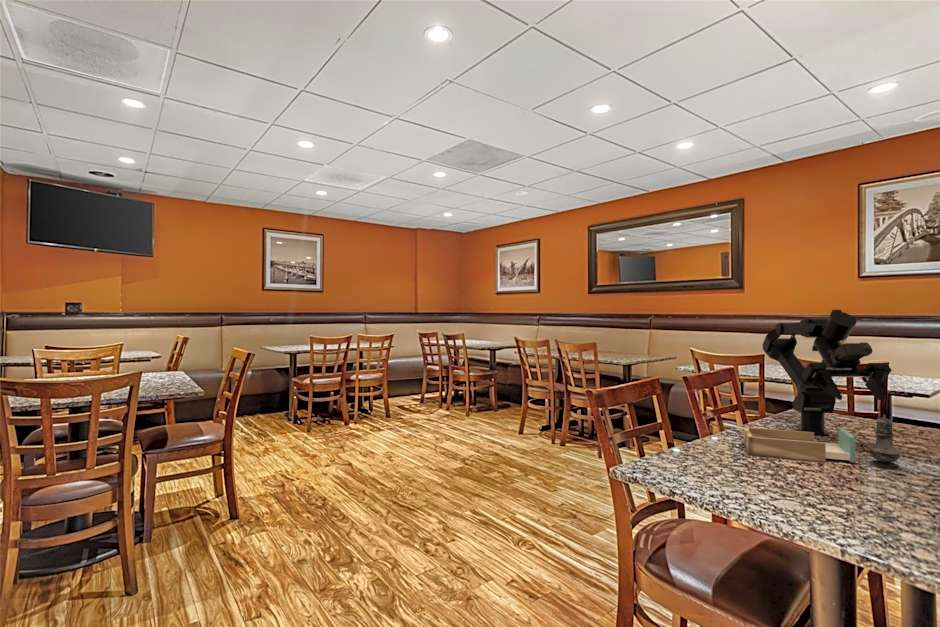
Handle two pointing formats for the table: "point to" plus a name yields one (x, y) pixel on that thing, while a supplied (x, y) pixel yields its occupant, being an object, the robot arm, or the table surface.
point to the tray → (841, 447)
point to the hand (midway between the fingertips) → (861, 399)
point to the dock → (783, 444)
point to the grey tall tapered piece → (884, 446)
